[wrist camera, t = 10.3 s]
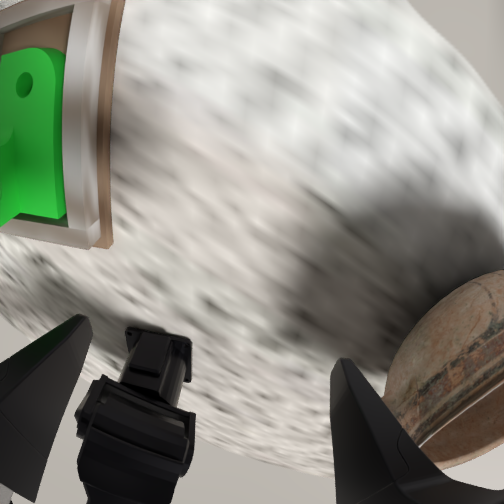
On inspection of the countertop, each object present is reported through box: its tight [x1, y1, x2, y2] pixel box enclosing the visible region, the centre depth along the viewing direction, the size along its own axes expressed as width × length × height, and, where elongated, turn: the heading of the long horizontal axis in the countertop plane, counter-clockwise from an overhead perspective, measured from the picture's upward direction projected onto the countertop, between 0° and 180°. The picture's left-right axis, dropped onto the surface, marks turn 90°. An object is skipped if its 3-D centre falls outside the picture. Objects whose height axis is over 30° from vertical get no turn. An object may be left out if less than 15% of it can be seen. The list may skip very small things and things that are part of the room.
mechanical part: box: [0, 48, 67, 227], centre depth 13 cm, size 12×6×8 cm, turn 170°
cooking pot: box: [381, 270, 504, 470], centre depth 19 cm, size 25×19×12 cm
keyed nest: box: [0, 0, 125, 250], centre depth 16 cm, size 20×13×3 cm, turn 172°
